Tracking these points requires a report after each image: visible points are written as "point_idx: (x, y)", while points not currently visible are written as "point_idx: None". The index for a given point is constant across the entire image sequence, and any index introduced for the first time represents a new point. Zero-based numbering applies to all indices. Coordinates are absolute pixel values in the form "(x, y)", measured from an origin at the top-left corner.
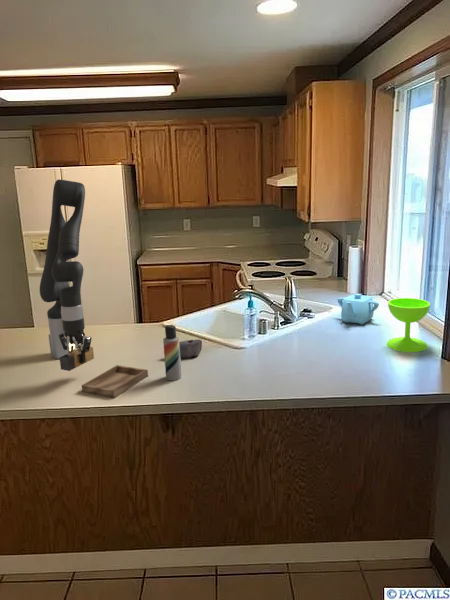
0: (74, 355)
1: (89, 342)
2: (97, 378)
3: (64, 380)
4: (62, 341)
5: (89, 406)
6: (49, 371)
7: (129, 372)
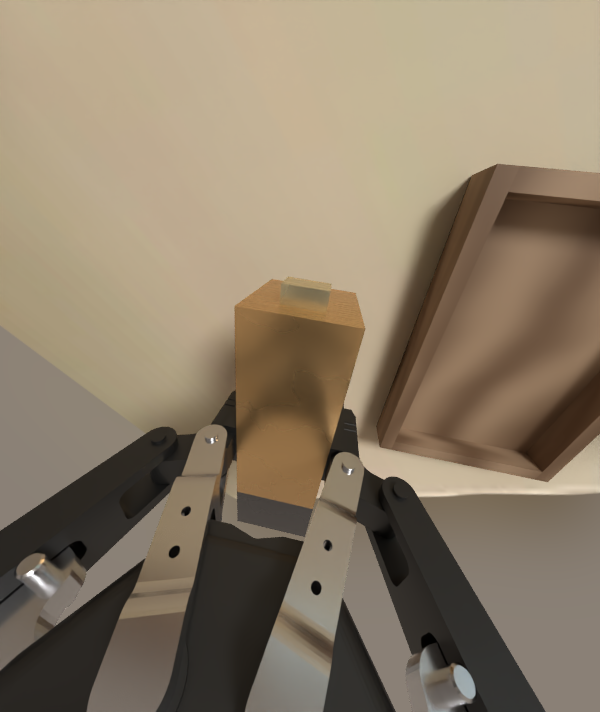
0: (307, 500)
1: (486, 650)
2: (419, 382)
3: None
4: (104, 545)
5: (446, 495)
6: (111, 278)
7: (595, 208)
